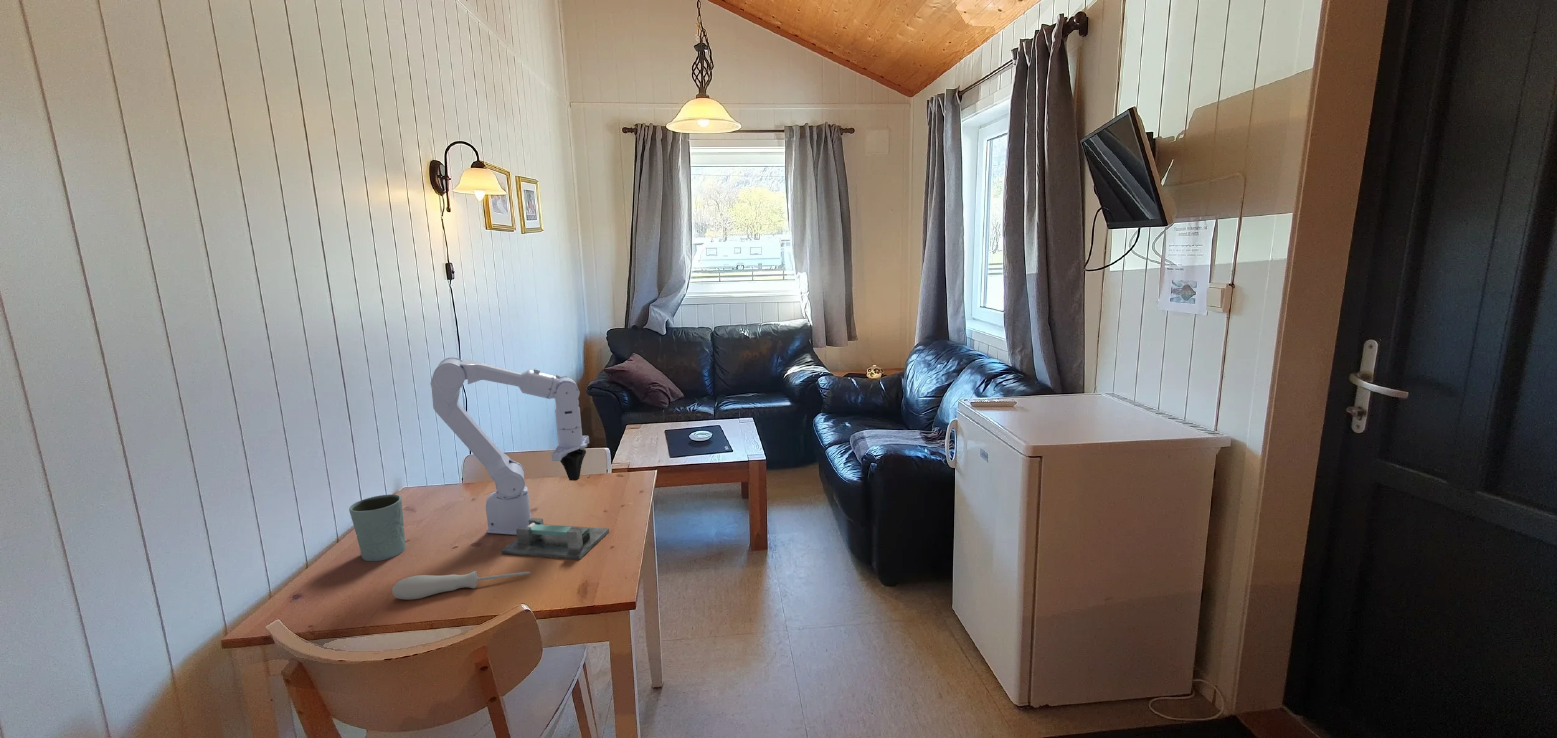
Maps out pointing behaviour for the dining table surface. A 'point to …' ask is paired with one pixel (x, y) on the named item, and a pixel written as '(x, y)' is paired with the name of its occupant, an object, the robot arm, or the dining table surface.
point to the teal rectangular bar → (553, 530)
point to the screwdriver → (438, 584)
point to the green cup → (379, 526)
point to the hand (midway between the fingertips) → (574, 479)
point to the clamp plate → (554, 542)
